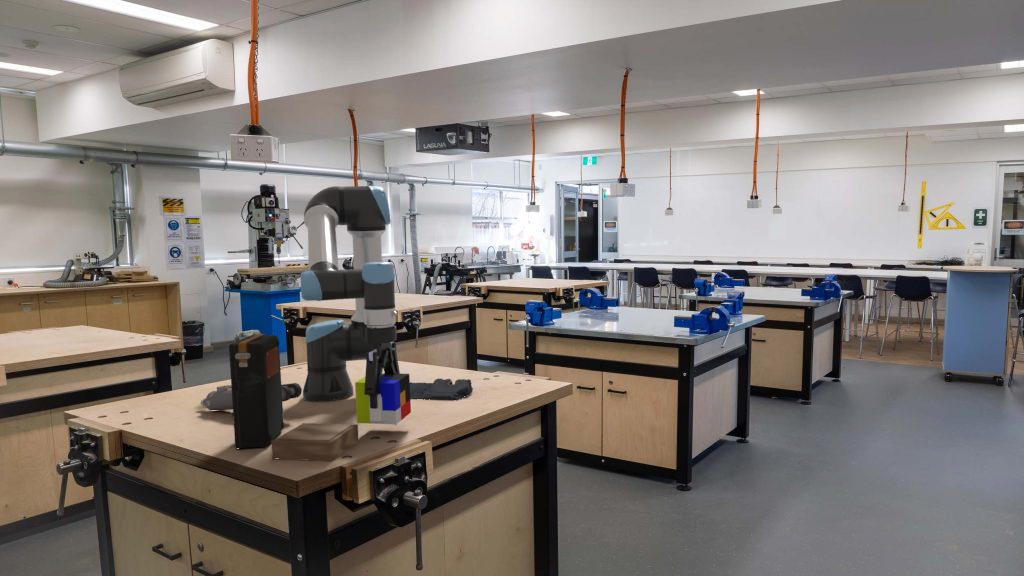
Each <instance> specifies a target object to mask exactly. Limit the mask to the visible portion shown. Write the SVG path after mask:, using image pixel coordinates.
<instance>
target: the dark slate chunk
mask: <svg viewBox="0 0 1024 576" xmlns="http://www.w3.org/2000/svg"><path fill="white" fill-rule="evenodd" d="M473 389H474V388H473V386H472V380H471V379H465V378H464V379H463V378H462V379H461V378H459V379H456V380H455V381H454V384H453V381H452V379H451V378H447V379H443V378H437V379H434V381H433V382H424V381H423V382H411V381H410V400H417V399H423V400H424V399H425V400H424V401H454V400H456V401H458V399H460V400H463V399H464V398H463V397H464V396H466V397H468V396H467V395H469V394H470V393H471V392H473ZM471 394H472V393H471ZM471 394H470V395H471ZM470 395H469V396H470ZM462 398H463V399H462ZM429 399H430V400H429ZM423 400H422V401H423Z"/></svg>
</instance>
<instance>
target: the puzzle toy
mask: <svg viewBox="0 0 1024 576" xmlns="http://www.w3.org/2000/svg"><path fill="white" fill-rule="evenodd" d="M410 382H411V381H410V373H400V374H397V373H395V374H385V372H382V377H381V383H380V390H379V394H381V409H382V421H370V407H369V395H365V393H364V389H365V376H364V377H362V378H360V379H359V380H357V381H355V382H354V386H355V405H356V407H355V409H356V423H357V424H373V425H375V424H376V425H395V426H396V425H398V424H399V423H400V422H401V421H402V420H404V419H405V418H406V417H408V416H409V415H410V414H411V413H412V408H411V399H410Z"/></svg>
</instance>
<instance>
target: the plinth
mask: <svg viewBox="0 0 1024 576" xmlns="http://www.w3.org/2000/svg"><path fill="white" fill-rule="evenodd" d="M359 438H360V437H359V423H357V424H356V423H354V424H353V423H350V424H349V423H345V424H344V423H309V422H308V423H303V422H302V423H301V424H300V425H297V426H295V427H294V428H292V429H290V430H288V431H287V432H285V433H284V434H282V435H280V436H278V437H275V438H274V439H273V440H272V441H271V442H270V443H271V457H272V458H279V459H278V460H284V459H308V460H307V461H316V460H324V461H323V462H333V461H334V460H335V459H336V458H338V457H339V456H340V455H342V454H343V453H345V452H347V450H349V449H350V448H351V447H352V446H354V445H355V444H357V443H358V442H359ZM272 458H271V459H272Z"/></svg>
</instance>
